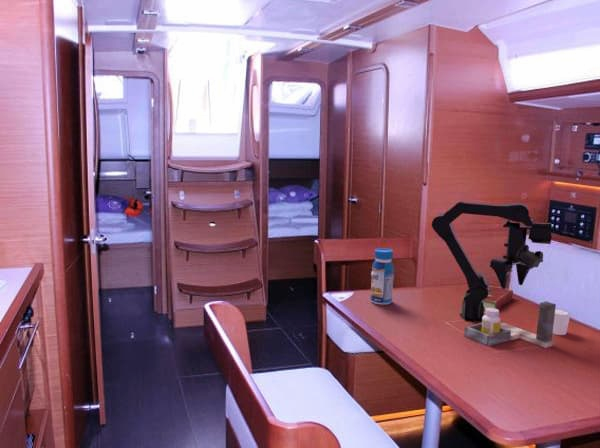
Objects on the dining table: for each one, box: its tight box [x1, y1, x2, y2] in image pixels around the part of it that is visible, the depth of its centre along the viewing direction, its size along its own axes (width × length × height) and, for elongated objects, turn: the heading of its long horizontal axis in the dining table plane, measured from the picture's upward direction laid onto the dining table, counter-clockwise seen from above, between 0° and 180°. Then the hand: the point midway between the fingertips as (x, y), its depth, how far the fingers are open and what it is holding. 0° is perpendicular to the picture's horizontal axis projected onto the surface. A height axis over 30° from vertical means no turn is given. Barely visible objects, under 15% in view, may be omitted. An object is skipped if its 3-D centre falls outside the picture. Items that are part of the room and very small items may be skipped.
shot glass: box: [552, 308, 571, 336], centre depth 178 cm, size 7×7×7 cm
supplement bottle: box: [481, 308, 502, 335], centre depth 170 cm, size 5×5×10 cm
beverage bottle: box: [370, 247, 395, 306], centre depth 204 cm, size 8×8×20 cm
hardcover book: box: [463, 284, 514, 310], centre depth 209 cm, size 12×21×4 cm, turn 143°
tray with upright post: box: [463, 301, 557, 349], centre depth 169 cm, size 19×18×13 cm
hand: (512, 286), depth 183 cm, fingers open, 9 cm apart
